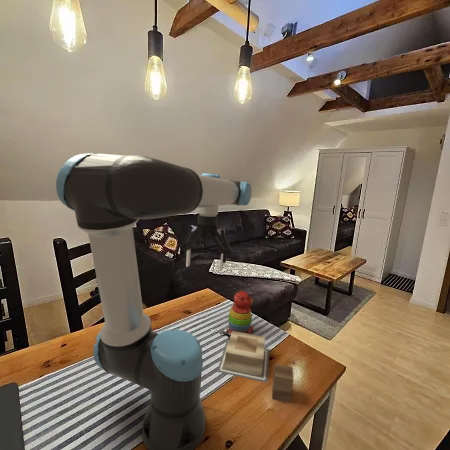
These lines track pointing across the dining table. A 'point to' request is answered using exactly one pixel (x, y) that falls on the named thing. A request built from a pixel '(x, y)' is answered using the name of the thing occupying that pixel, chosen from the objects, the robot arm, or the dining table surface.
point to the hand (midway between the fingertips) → (204, 267)
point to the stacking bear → (241, 314)
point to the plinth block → (245, 353)
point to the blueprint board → (245, 375)
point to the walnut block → (282, 383)
